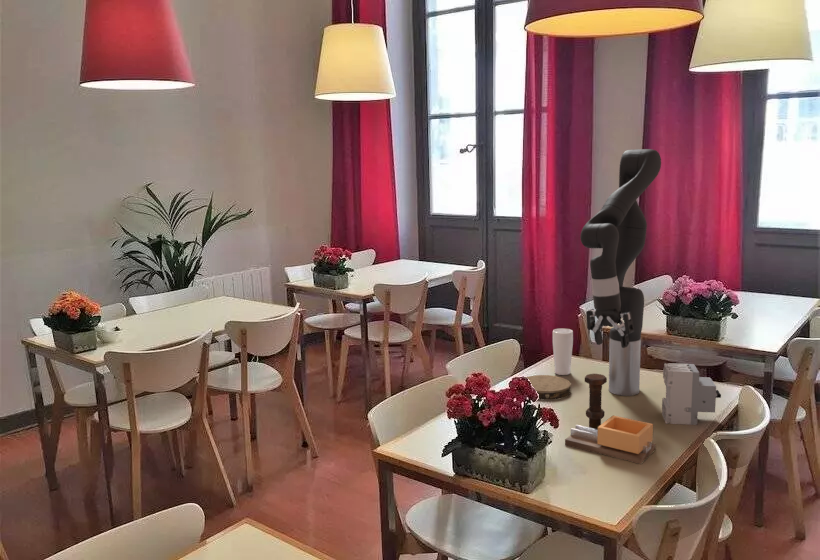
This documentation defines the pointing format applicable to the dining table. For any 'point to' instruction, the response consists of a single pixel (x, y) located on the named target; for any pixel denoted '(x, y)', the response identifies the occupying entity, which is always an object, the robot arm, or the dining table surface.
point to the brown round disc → (550, 386)
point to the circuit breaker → (686, 394)
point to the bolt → (595, 399)
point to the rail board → (607, 449)
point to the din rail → (596, 435)
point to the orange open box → (625, 434)
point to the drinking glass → (562, 350)
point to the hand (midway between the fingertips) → (612, 345)
